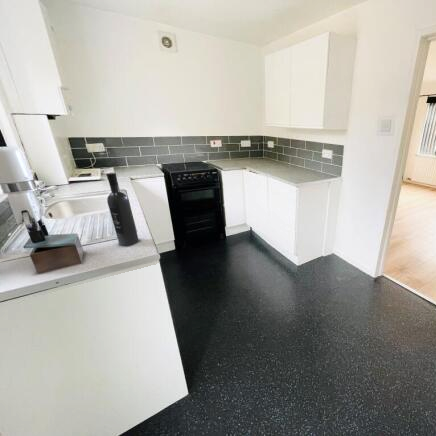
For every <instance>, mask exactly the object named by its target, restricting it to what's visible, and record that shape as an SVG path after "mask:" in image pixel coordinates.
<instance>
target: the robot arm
mask: <svg viewBox="0 0 436 436" xmlns="http://www.w3.org/2000/svg"><path fill="white" fill-rule="evenodd" d="M0 189H1V191H2V192H3V194H4V195H7V198H8V202H9V205H10V208H11V211H12V214H13V216H14V218H15V219H14V220H15V221H16V223H17V225H19V226H22V225H23V224H24V226H25V228H26V231H27V234H28V236H29V238H31V241H32V243H38V242H43V241H45V240H46V239H45V236H48V235H50V233H49V232H48V229H47V226H46V224H45V222H44V220H43V216H44V212H43V209H42V206H41V203H40V201H39V199H38V197H37V194H36V193H35V191H38V186H37V185H36V182H35V179H34V177H33V174H32V172H31V168H30V166H29V163H28V161H27V158H26V157H25V154H24V151H23V150H22V148H20V147H18V146H13V145H11V146H0ZM39 226H40V227H41V230H40V227H39Z"/></svg>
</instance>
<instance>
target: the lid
mask: <svg viewBox="0 0 436 436" xmlns="http://www.w3.org/2000/svg"><path fill="white" fill-rule="evenodd" d="M39 227H40V226H39ZM40 230H41V227H40ZM77 236H78V237H79V234H78V233H60V234H59V233H58V234H56V233H55V234H49V235H48V236H45V239H46V240H45V241H43V242H38V243H32V241H31V238H30V237H29V238H28V239H27V241H26V242H25V243H24V244H23V247H22V248H23V249H33V248H39V247H54V246H70V245H75V244H76V240H77Z"/></svg>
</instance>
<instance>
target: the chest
mask: <svg viewBox="0 0 436 436" xmlns="http://www.w3.org/2000/svg"><path fill="white" fill-rule="evenodd" d="M84 252H85V251H84V249H83V246H82V243H81V240H80V237H79V235H78V236H77V240H76V244H75V245H70V246H54V247H39V248H32V250H31V252H30V254H29V257H30V260H31V262H32V264H33V267H34V269H35V271H36V273H37V274H38V275H40V274H43V273H44V274H45V273H48V272H52V271H55V270H59V269H63V268H68V267H72V266H75V265H80V264H83V259H84V254H85V253H84Z"/></svg>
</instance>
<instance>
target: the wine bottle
mask: <svg viewBox="0 0 436 436" xmlns="http://www.w3.org/2000/svg"><path fill="white" fill-rule="evenodd" d="M105 176H106V178H107V179H106V180H108V184H109V188H110V193H109V195H108V196H107V199H106V202H107V207H108V209H109V213H110V216H111V220H112V224H113V228H114V232H115V234H116V239H117V242H118V245H119V246H120V247H121V246H122V247H131V246H133V245H136V244H138V243H139V242H140V239H139V235H138V231H137V228H136V227H137V226H136V223H135V219H134V215H133V211H132V207H131V203H130V200H129V197H128V196H127V194H125V192H122V191H121V190H120V185H119V181H118V177H117V174H116V173H115V172H110V173H106V175H105Z"/></svg>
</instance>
